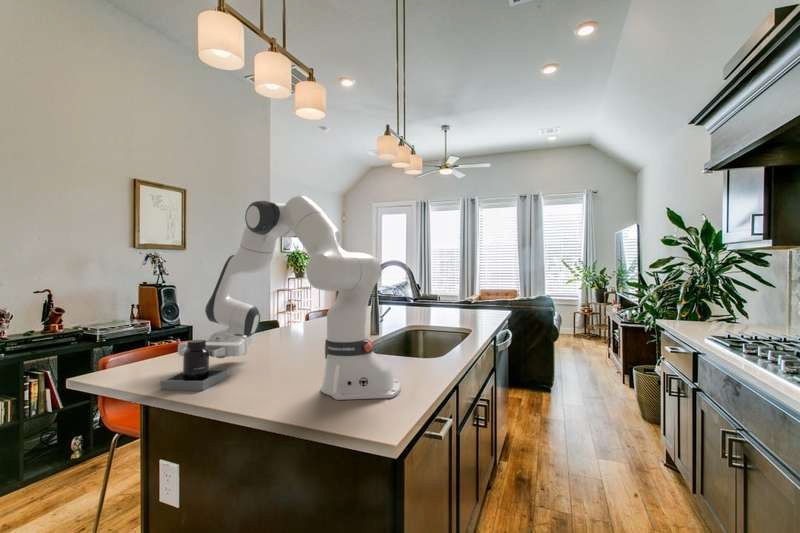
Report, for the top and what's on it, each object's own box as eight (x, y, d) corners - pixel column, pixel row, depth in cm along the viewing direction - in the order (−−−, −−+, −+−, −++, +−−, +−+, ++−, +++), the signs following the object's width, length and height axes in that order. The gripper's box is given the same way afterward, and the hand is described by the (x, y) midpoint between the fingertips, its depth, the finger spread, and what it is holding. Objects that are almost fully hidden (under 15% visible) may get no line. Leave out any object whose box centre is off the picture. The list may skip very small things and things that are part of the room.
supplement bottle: (197, 385, 109) (197, 343, 109) (177, 383, 111) (177, 342, 111) (214, 378, 116) (214, 339, 116) (194, 377, 117) (194, 338, 117)
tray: (227, 377, 119) (227, 369, 119) (202, 390, 106) (202, 381, 106) (189, 376, 120) (189, 368, 120) (160, 389, 107) (160, 380, 107)
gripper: (193, 334, 129) (164, 342, 115) (251, 335, 127) (229, 343, 113) (193, 352, 129) (164, 363, 115) (251, 354, 127) (229, 365, 113)
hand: (197, 353), depth 114 cm, fingers open, 8 cm apart
